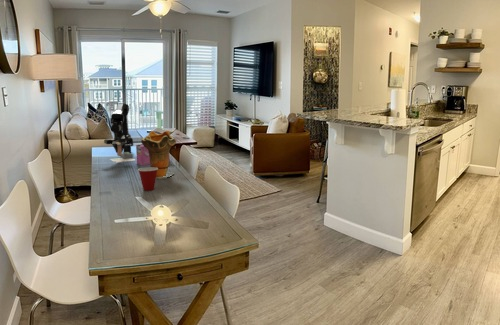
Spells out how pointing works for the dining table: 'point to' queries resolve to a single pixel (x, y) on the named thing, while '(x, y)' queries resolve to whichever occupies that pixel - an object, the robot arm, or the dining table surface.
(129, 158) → the square board tray
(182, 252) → the dining table surface
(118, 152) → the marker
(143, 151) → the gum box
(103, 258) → the dining table surface
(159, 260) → the dining table surface
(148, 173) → the plastic cup
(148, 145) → the decorative vase
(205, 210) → the dining table surface
